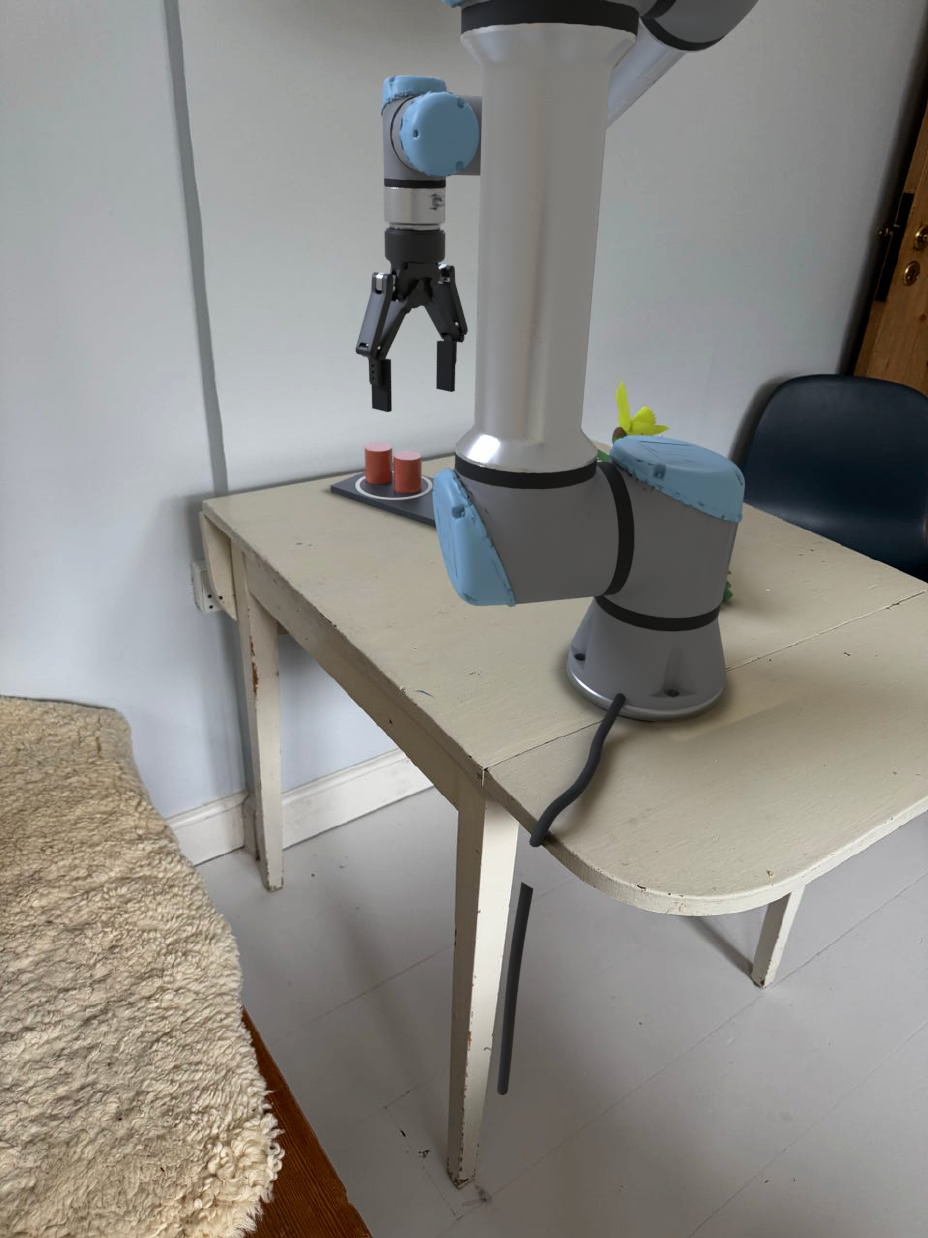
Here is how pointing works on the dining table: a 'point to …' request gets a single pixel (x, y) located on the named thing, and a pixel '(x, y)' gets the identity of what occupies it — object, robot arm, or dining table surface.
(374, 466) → the short coral cylinder
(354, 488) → the slate board
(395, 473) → the red cylinder block
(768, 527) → the dining table surface
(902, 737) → the dining table surface
